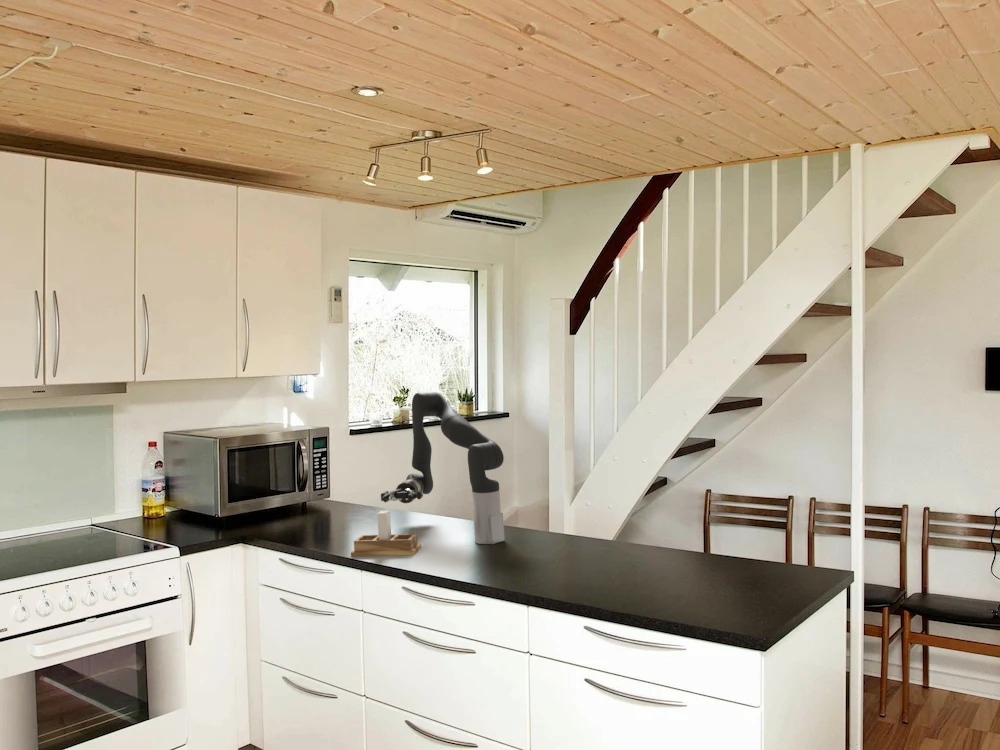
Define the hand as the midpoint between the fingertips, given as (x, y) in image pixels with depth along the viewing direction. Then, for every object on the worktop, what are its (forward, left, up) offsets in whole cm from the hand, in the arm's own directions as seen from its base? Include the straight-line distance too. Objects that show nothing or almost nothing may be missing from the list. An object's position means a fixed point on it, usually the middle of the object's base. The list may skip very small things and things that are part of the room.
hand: (396, 498), depth 296 cm
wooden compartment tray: (-7, +11, -15) cm, 20 cm away
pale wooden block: (-7, +12, -14) cm, 19 cm away
